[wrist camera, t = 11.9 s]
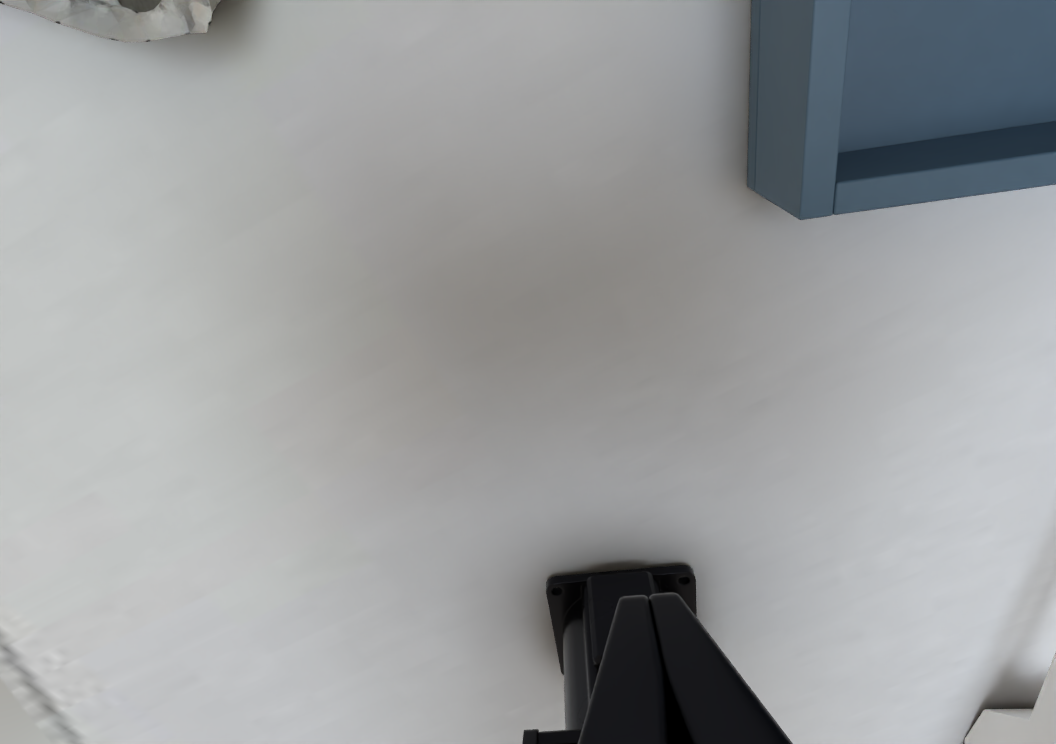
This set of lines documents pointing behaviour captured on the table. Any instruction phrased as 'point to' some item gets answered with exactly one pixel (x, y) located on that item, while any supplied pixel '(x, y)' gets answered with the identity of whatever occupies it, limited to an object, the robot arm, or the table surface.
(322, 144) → the table surface
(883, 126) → the compartment
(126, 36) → the egg carton
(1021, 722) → the white guitar
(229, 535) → the table surface
